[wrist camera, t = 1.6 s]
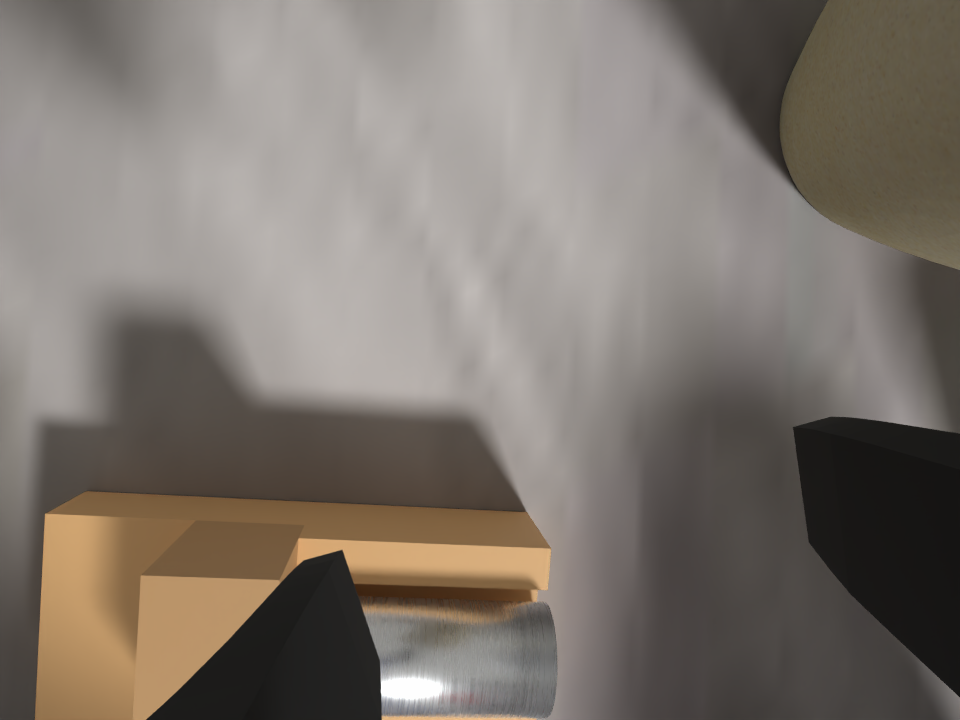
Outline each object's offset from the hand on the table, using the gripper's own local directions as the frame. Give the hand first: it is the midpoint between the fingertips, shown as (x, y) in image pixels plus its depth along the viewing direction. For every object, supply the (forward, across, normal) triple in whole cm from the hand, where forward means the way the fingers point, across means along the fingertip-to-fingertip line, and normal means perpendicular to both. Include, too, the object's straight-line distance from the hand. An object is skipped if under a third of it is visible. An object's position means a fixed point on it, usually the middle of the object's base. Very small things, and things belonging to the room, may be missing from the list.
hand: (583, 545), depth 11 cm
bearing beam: (+11, +7, +6) cm, 14 cm away
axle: (+9, +6, +6) cm, 12 cm away
